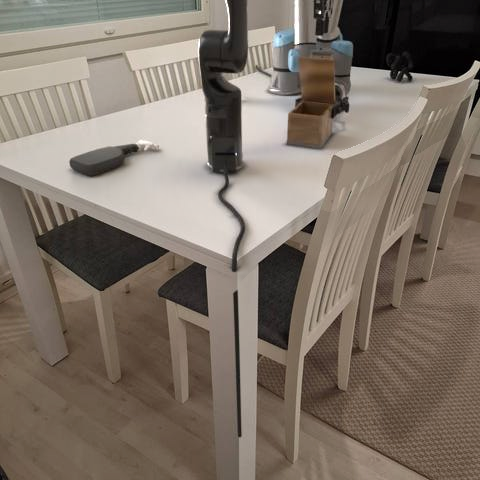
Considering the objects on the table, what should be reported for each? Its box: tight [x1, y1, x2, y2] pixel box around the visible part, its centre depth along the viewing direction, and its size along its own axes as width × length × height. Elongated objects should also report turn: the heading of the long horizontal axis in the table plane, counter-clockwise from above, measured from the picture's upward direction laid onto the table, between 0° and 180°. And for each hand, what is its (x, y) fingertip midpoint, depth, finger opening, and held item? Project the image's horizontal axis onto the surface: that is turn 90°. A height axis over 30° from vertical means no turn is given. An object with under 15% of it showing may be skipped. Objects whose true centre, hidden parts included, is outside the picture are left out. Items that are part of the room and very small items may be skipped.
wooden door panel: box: [298, 50, 335, 103], centre depth 133 cm, size 15×10×8 cm
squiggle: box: [385, 51, 414, 83], centre depth 198 cm, size 11×10×15 cm
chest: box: [286, 101, 335, 150], centre depth 134 cm, size 14×10×9 cm
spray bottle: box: [68, 139, 160, 177], centre depth 124 cm, size 3×11×24 cm
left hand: (321, 34), depth 126 cm, fingers open, 5 cm apart
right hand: (315, 112), depth 136 cm, fingers closed on chest, 10 cm apart
